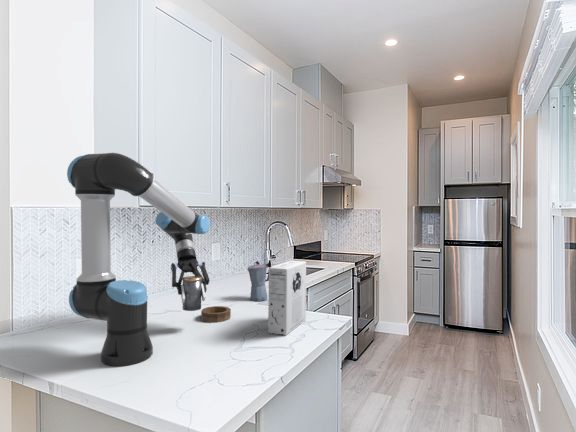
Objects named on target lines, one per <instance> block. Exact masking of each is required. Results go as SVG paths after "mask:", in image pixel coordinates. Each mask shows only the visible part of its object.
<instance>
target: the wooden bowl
mask: <svg viewBox="0 0 576 432" xmlns="http://www.w3.org/2000/svg"><path fill="white" fill-rule="evenodd" d="M231 309H232V308H230V307H228V306H222V305H217V306H216V305H214V306H207V307H204V308H201V313H200V314H201V320H202V321H203V322H207V323H222V322H226V321H229V320H230V319H231V318H232V317H231V316H232V315H231V313H232V312H231Z"/></svg>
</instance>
